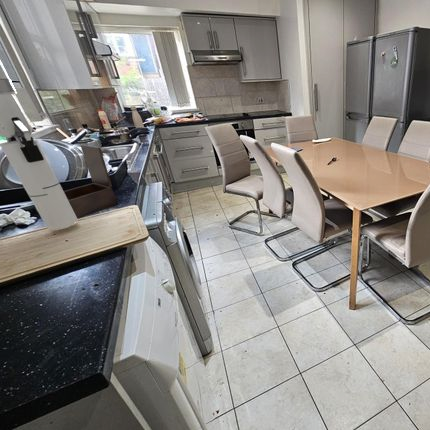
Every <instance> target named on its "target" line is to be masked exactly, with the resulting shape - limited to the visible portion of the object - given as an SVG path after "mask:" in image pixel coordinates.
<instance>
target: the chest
mask: <svg viewBox="0 0 430 430" xmlns="http://www.w3.org/2000/svg"><path fill="white" fill-rule="evenodd" d="M63 191H64V193H65V195H66V197H67V199H68V201H69V203H70V205H71V207H72V209H73V211H74V213H75V215H76V217H77V219H80V218H83V217H86V216H89V215H91V214H94V213H97V212H100V211H103V210H105V209H108V208H111V207H113V206H116V205H119V202H118V199H117V197H116V195H115V192H114V189H113V188H112V187H109V186H105V185H102V184H98V183H94V182H92V183H88V184H85V185H82V186H78V187H74V188H71V189H67V190H63Z"/></svg>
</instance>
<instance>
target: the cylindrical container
mask: <svg viewBox="0 0 430 430" xmlns="http://www.w3.org/2000/svg"><path fill="white" fill-rule="evenodd" d="M33 140H34V141H35V142H36V145H37V146H38V148H39V150H40V152H41V154H42V156H43V158H44V160H42V161H36V162H31V163H29V162H27V160H26V158H25V156H24V154H23V152H22V151H21V149H20V147H21V145H20V144H19V143H18V141H11V142H7V141H6V142H2V143H0V148H1V150H2V151H3V153H4V155H5V157H6V159H7V160H8V162H9V164H10V166H11V167H12V169H13V171H14V172H15V174H16V176H17V177H18V180H19V181H20V183H21V185H22V186H23V188H24V190H25V191H26V193H27V195H28V197H29V199H30V200H31V202H32V204H33V205H34V207H35V209H36V212H37V213H38V215H39V216H40V218H41V220H42V221H43V223H44V225H45V227H46V228H47V230H48V229H49V230H48V231H60V230H64V229H67V228H70V227H72V226H74V225H75V224H74V223H75V222H76V221H77V220H78V221H79V218H77V217H76V215H75V213H74V211H73V209H72V207H71V205H70V203H69V201H68V199H67V197H66V195H65V193H64V191H65V190H63V189H64V188H63V187H62V185H61V184H60V182H59V179H58V177H57V176H56V173H55V172H54V169H53V168H52V166H51V163H50V161H49V160H48V158H47V156H46V154H45V151H44V150H43V148H42V146H41V144H40V142H39V140H38V139H37V138H33ZM73 224H74V225H73ZM71 225H72V226H71ZM69 226H70V227H69ZM59 229H60V230H59Z"/></svg>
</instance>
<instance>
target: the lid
mask: <svg viewBox="0 0 430 430" xmlns="http://www.w3.org/2000/svg"><path fill="white" fill-rule="evenodd" d="M80 149H81V152H82V155H83V157H84V161H85V164H86V167H87V169H88V173H89V175H90V179H91V182H92V183H96V184H100V185H103V186H107V187H111V188H112V187H113V185H112V181H111V178H110V175H109V171H108V168H107V164H106V161H105V157H104V154H105V155H107V154H109V153H110V150H109V149H108V148H103V147H99V146H93V145H87V144H86V145H85V144H80Z"/></svg>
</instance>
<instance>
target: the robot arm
mask: <svg viewBox="0 0 430 430" xmlns="http://www.w3.org/2000/svg"><path fill="white" fill-rule="evenodd" d="M17 94H18V92H17V90H16V89H15V87H14V85H13V83H12V80H11V79H10V77H9V74H8V73H7V71H6V69H5V67H4V65H3V63H2V61H1V60H0V137H1V138H5V140H6V142H11V141H18V143H19V144H20V145H21V147H20V149H21V151H22V152H23V154H24V156H25V158H26V160H27V162H29V163H31V162H36V161H42V160H44V158H43V156H42V154H41V152H40V150H39V148H38V146H37V145H36V142H35V141H34V140H33V139H34V137H33V136H32V134H33V129H32V127H31V125H30V123H29V120H28V119H27V116H26V115H25V113H24V112H23V110H22V108H21V106H20V105H19V103H18V101H17V100H16V98H15V96H14V95H17Z"/></svg>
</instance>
